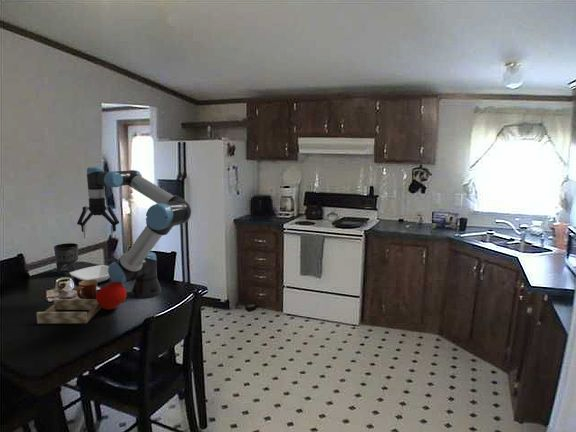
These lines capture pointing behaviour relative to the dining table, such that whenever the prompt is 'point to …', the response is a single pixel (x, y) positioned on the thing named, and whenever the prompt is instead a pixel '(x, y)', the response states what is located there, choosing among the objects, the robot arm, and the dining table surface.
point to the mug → (87, 289)
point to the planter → (66, 256)
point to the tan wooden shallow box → (69, 317)
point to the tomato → (111, 295)
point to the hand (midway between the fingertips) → (99, 237)
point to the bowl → (92, 273)
